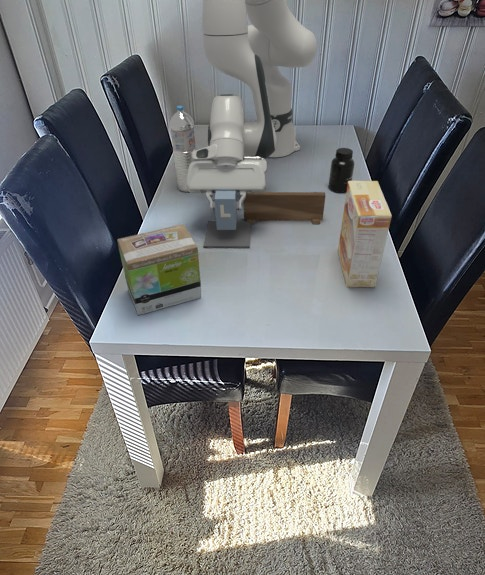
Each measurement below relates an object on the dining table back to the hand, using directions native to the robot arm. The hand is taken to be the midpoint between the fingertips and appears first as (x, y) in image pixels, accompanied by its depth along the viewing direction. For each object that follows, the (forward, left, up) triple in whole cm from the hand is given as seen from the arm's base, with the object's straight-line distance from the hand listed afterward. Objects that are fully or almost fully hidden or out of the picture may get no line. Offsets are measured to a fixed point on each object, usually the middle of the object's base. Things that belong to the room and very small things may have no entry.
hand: (225, 209), depth 114 cm
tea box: (+23, -13, -9) cm, 28 cm away
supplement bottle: (-27, +33, -9) cm, 44 cm away
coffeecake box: (+13, +32, -9) cm, 36 cm away
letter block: (-1, 0, -5) cm, 5 cm away
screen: (-9, +15, -8) cm, 20 cm away
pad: (-1, 0, -8) cm, 9 cm away
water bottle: (-27, -14, -9) cm, 32 cm away
